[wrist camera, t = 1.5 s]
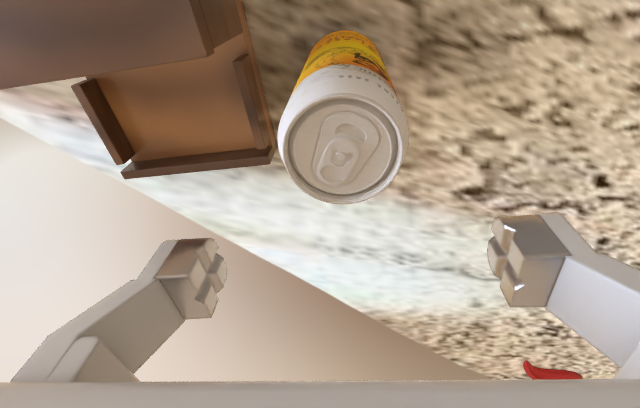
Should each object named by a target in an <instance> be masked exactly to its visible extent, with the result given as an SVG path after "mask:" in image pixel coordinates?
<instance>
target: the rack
mask: <svg viewBox="0 0 640 408" xmlns="http://www.w3.org/2000/svg"><path fill="white" fill-rule="evenodd" d="M84 76H86V78H87V80H84V81H82V82H79V83H77V84H74V85H72V86H71V88H72V89H73V91H74V93H75V95H76V96H77V98H78V100H79V102H80V103H81V105H82V107H83V108H84V110H85V112H86V114H87V115H88V117H89V119H90V120H91V122H92V124H93V126H94V127H95V129H96V131H97V132H98V134H99V136H100V138H101V139H102V141H103V143H104V145H105V146H106V148H107V150H108V151H109V153H110V155H111V157H112V158H113V160H114V162H115V163H116V165H120V164H124V163H126V162H127V161H128V160H129V159H131V160H132V162H131V163H130V164H129V165H128V166H127V167H126V168H124V169H123V170H122V171H121V174H122V176H123V177H124V179H131V178H141V177H151V176H161V175H170V174H180V173H190V172H199V171H209V170H219V169H229V168H238V167H248V166H258V165H267V164H270V163H271V160H272V158H273V155H274V153H275V150H276V148H277V145H276V140H275V136H274V132H273V128H272V124H271V120H270V116H269V112H268V108H267V104H266V100H265V96H264V92H263V88H262V84H261V79H260V75H259V71H258V67H257V63H256V59H255V55H254V51H253V47H252V43H251V39H250V35H249V31H248V27H247V23H246V18H245V14H244V10H243V6H242V2H241V0H0V89H7V88H13V87H20V86H26V85H33V84H39V83H45V82H52V81H58V80H65V79H71V78H78V77H84Z"/></svg>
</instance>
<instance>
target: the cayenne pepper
mask: <svg viewBox="0 0 640 408" xmlns="http://www.w3.org/2000/svg"><path fill="white" fill-rule="evenodd" d="M524 369H525V371H526V373H527V375H528V376H529V377H531V378H532V379H534V380H553V379H582V376H580V375H579V374H577V373H575V372H570V371H565V370H550V369H541V368H536V367H534V366H532V365H531V364H530V363H529V362H528V361H525V362H524Z"/></svg>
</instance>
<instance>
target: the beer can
mask: <svg viewBox="0 0 640 408" xmlns="http://www.w3.org/2000/svg"><path fill="white" fill-rule="evenodd" d="M408 144H409V128H408V123H407V120H406V117H405V114H404V112H403V109H402V107H401V104H400V102H399V100H398V97H397V95H396V92H395V90H394V88H393V85H392V83H391V80H390V78H389V76H388V73H387V71H386V68H385V66H384V64H383V61H382V59H381V56H380V54H379V52H378V50H377V48H376V47H375V45H374V44H373V43H372V42H371V41H370V40H369V39H368V38H367V37H365V36H364V35H362V34H360V33H357V32H354V31H348V30H343V31H336V32H333V33H330V34H328V35H326V36H325V37H323V38H322V39H321V40H319V41H318V42H317V43H316V45H315V46H314V47H313V49H312V50H311V52H310V54H309V56H308V59H307V61H306V63H305V65H304V68H303V70H302V72H301V74H300V77H299V79H298V81H297V83H296V86H295V88H294V90H293V92H292V95H291V97H290V99H289V101H288V104H287V106H286V108H285V110H284V113H283V115H282V117H281V120H280V123H279V128H278V148H279V153H280V156H281V159H282V161H283V163H284V165H285V167H286V170H287V172H288V174H289V176H290V177H291V179H292V180H293V181H294V183H295V184H296V185H297V186H298V187H299V188H300V189H301V190H303V191H304V192H305V193H307V194H308V195H310V196H312V197H314V198H315V199H318V200H321V201H324V202H327V203H333V204H352V203H357V202H361V201H364V200H367V199H369V198H372V197H373V196H375V195H377V194H378V193H380V192H381V191H383V190H384V189H385V188H386V187H387V186H388V185H389V184H390V183H391V182H392V180H393V179H394V178H395V176H396V175H397V173H398V171H399V169H400V166H401V165H402V163H403V161H404V159H405V156H406V153H407V150H408Z"/></svg>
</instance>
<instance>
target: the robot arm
mask: <svg viewBox="0 0 640 408" xmlns="http://www.w3.org/2000/svg"><path fill="white" fill-rule="evenodd" d="M491 230H492V232H493V233H494V235H495V236H494V237H493V238H492V239H491V240H489V242H488V248H487V255H488V262H489V265H490V268H491V270H492V272H493V274H494V275H495V276H497V277H499V278H500V279H502V280H501V284H500V288H501V290H502V292H503V294H504V296H505V298H506V300H507V302H508V304H509V306H510V307H546V308H545V309H547V310H548V311H549V312H550V313H552V314H553V315H554V316H555V317H557V318H558V319H559V320H561V321H562V322H563V323H564V324H566V325H567V326H568V327H569V328H571V329H572V330H573V331H575V332H576V333H577V334H578V335H580V336H581V337H582V338H583V339H585V340H586V341H587V342H588V343H590V344H591V345H592V346H594V347H595V348H596V349H597V350H599V351H600V352H601V353H602V354H604V355H605V356H606V357H607V358H609V359H610V360H611V361H613V362H614V363H615V364H616V365H618V366H619V367H620V369H619V371H618V372H617V373H616V375H615V376H614V377H613V379H553V380H406V381H405V380H397V381H396V380H394V381H393V380H392V381H391V380H390V381H389V380H386V381H236V382H235V381H232V382H231V381H230V382H229V381H222V382H221V381H220V382H219V381H218V382H140V381H139V380H138V379H137V378H136V377H135V376H134V373H135V372H136V371H137V370H138V369H139V368H140V367H141V366H142V365H143V364H144V363H145V362H146V361H147V359H149V357H150V356H151V355H152V354H153V353H154V352H155V351H156V350H157V349H158V348H159V347H160V346H161V345H162V344H163V343H164V342H165V341H166V340H167V339H168V338H169V337H170V336H171V335H172V334H173V333H174V332H175V331H176V330H177V329H178V328H179V327H180V325H181V324H182V323H183V322H184V321H185V319H200V318H211V317H212V315H213V312H214V310H215V307H216V305H217V302H218V300H219V299H218V296H217V294H216V293H217V292H219V291H220V290H221V289H222V288H223V287H224V284H225V282H226V277H227V276H226V275H227V268H226V263H225V261H224V258H223V257H221V256H220V255H219V254H217V253H216V252H217V250H218V245H217V243H216V242H215V240H214V239H212V238H199V239H181V240H167V241H165V242H163V243H162V244H161V245H160V246H159V248H158V249H157V251H156V252H155V254H154V255H153V256H152V258H151V259H150V261H149V262H148V264H147V265H146V267H145V268H144V269H143V271H142V272H141V274H140V275H139V277H138V278H137V279H136V280H131V281H129V282H128V283H126V284H125V285H123V286H122V287H120V288H119V289H117V290H116V291H114V292H113V293H111V294H110V295H108V296H107V297H105V298H104V299H102V300H101V301H99V302H98V303H97V304H95V305H93V306H92V307H90V308H89V309H87V310H86V311H85V312H83V313H82V314H80V315H79V316H77V317H76V318H74V319H73V320H71V321H70V322H68V323H67V324H65V325H64V326H62V327H61V328H59V329H58V330H56V331H55V332H53V333H52V334H50V335H49V336H47V338H46V339H45V340H44V341H43V342H42V344H41V345H40V346H39V347H38V349H37V350H36V351H35V352H34V353H33V355H32V356H31V357H30V358H29V359H28V361H27V362H26V363H25V364H24V365H23V367H22V368H21V369H20V370H19V371H18V373H17V374H16V375H15V376H14V377H13V379H12V380H11V381H10V382H9V383H0V408H640V270H638V269H636V268H634V267H632V266H630V265H627V264H625V263H623V262H621V261H619V260H617V259H614V258H612V257H610V256H608V255H606V254H597V253H596V252H595V251H594V250H593V248H592V247H591V246H590V245H589V244H588V243H587V242H586V241H585V240H584V239H583V238H582V236H581V235H580V234H579V233H578V232H577V231H576V230H575V229H574V228H573V227H572V226H571V224H570V223H569V222H568V221H567V220H566V219H565V218H564V217H563V216H562V215H561V214H559V213H557V212H552V213H541V214H535V215H522V216H510V217H497V218H495V219H494V221H493V223H492V227H491Z"/></svg>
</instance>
